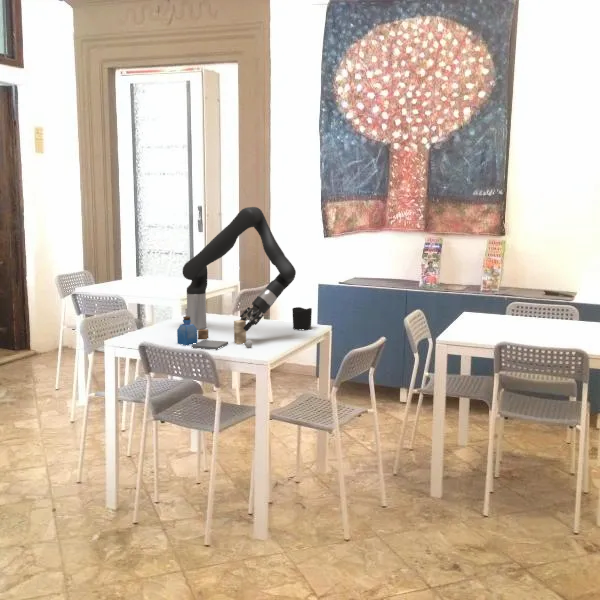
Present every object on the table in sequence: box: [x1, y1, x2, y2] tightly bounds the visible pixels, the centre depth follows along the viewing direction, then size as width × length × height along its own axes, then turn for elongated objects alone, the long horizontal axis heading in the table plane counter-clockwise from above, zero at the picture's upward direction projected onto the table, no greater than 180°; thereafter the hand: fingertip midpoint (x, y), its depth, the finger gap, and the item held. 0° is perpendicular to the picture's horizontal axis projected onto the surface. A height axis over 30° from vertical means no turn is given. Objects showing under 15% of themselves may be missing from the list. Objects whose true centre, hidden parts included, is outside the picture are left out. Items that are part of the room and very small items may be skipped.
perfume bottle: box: [176, 315, 198, 346], centre depth 326 cm, size 6×6×12 cm
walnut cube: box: [197, 328, 209, 340], centre depth 337 cm, size 4×4×4 cm
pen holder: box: [291, 306, 313, 330], centre depth 359 cm, size 9×9×10 cm
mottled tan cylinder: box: [233, 319, 247, 345], centre depth 326 cm, size 4×4×10 cm
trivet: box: [190, 339, 229, 350], centre depth 321 cm, size 12×12×1 cm
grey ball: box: [244, 339, 253, 348], centre depth 318 cm, size 3×3×3 cm
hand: (241, 328), depth 326 cm, fingers open, 8 cm apart
